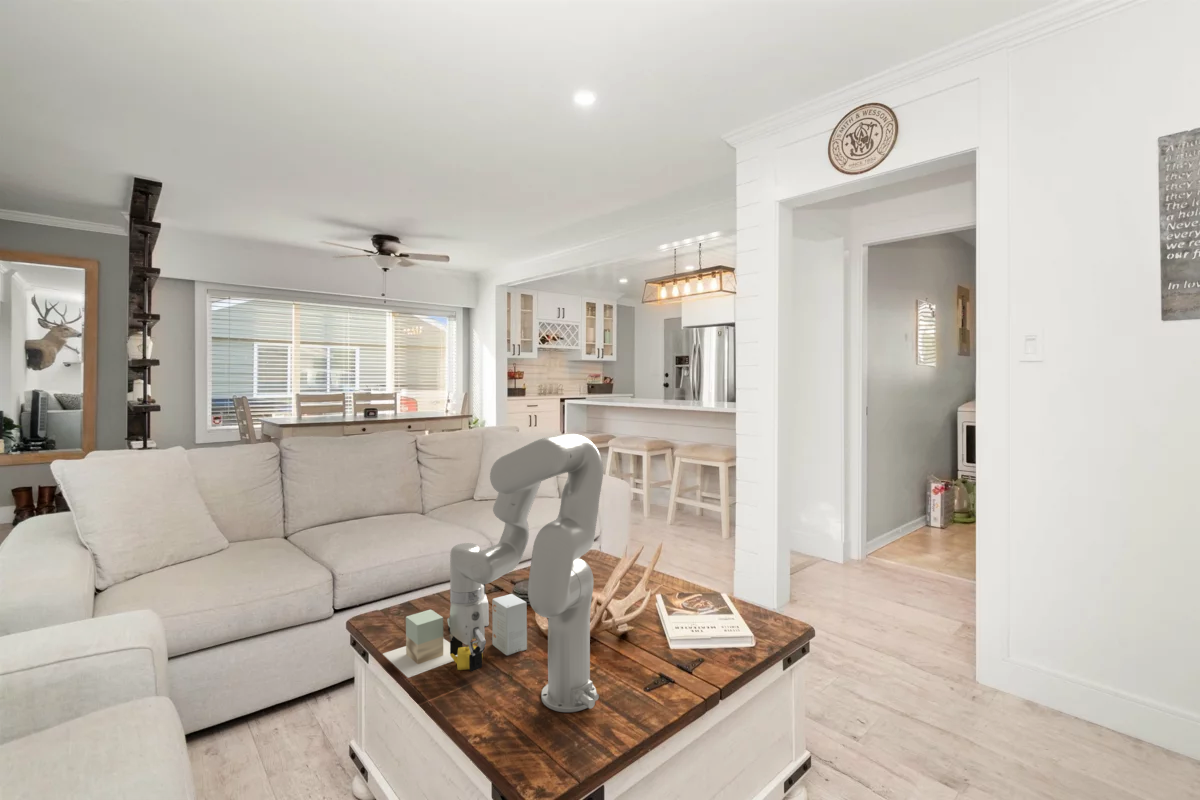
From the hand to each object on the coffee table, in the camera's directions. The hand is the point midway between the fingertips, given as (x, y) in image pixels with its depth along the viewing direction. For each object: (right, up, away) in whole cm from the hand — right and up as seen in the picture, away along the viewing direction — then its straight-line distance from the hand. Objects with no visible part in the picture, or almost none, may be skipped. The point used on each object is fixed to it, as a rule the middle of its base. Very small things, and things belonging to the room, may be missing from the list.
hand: (465, 661), depth 140 cm
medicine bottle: (-3, -1, +26) cm, 27 cm away
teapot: (0, -2, 0) cm, 2 cm away
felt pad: (-12, -2, +6) cm, 14 cm away
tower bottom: (-12, -1, +6) cm, 14 cm away
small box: (+9, -2, +11) cm, 14 cm away
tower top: (-12, +4, +6) cm, 14 cm away
